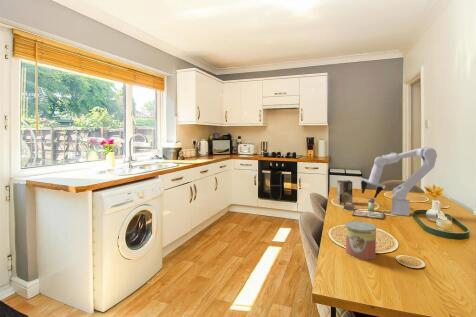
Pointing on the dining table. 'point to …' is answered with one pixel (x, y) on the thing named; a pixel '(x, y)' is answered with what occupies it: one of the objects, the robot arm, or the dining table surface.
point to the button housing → (349, 207)
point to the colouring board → (368, 214)
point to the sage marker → (371, 204)
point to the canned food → (361, 239)
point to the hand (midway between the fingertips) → (368, 195)
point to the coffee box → (344, 191)
